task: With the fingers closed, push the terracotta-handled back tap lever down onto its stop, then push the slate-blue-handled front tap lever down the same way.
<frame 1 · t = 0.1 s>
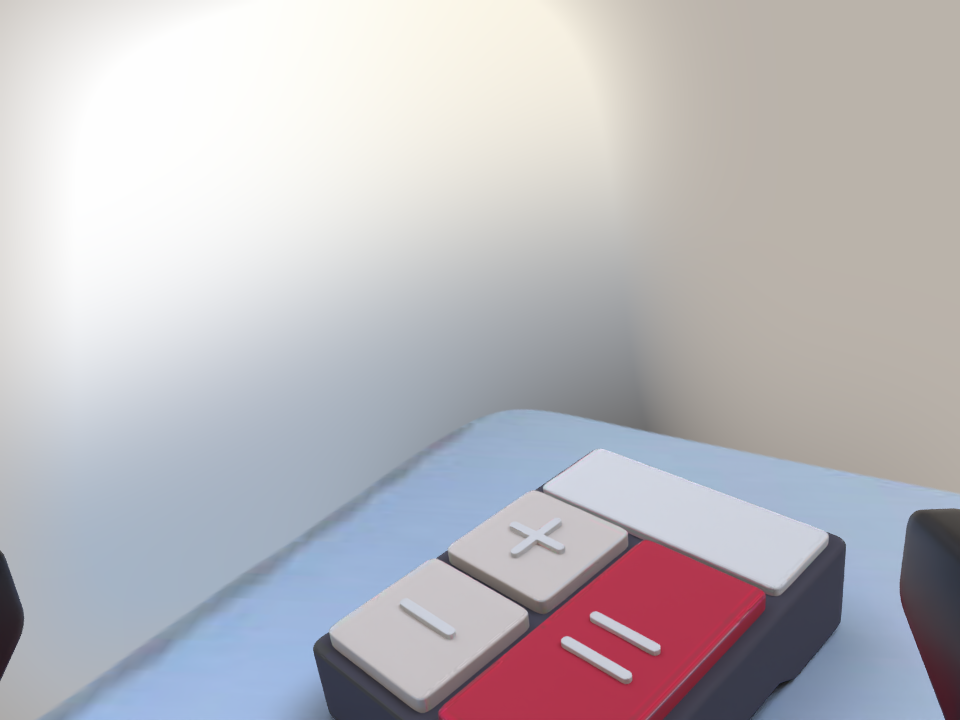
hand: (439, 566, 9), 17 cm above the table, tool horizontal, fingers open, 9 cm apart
calculator: (591, 672, 30), on the table
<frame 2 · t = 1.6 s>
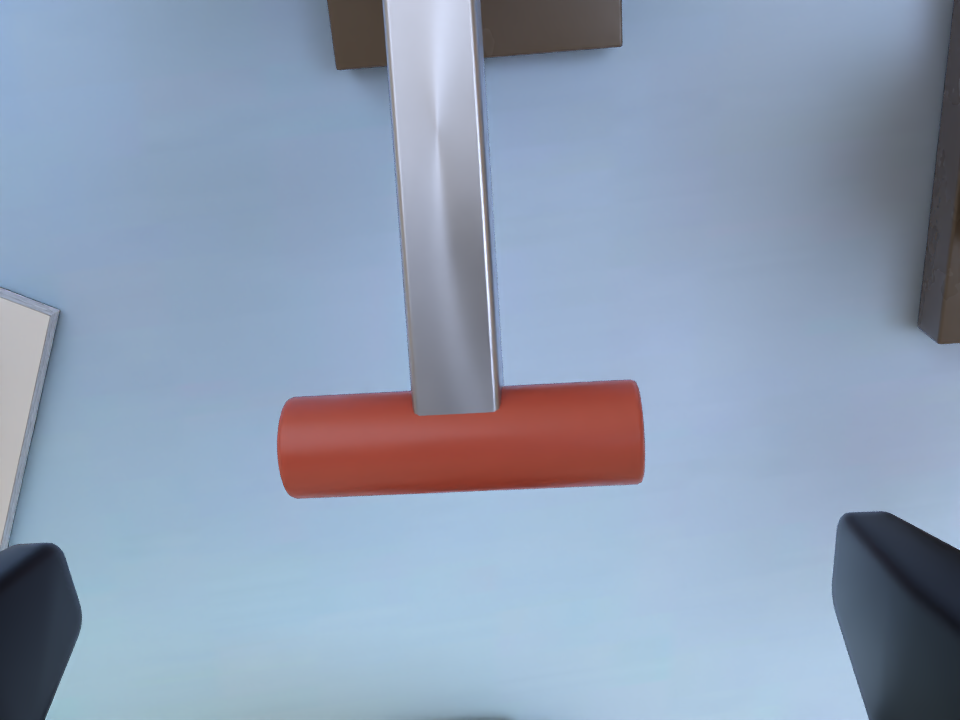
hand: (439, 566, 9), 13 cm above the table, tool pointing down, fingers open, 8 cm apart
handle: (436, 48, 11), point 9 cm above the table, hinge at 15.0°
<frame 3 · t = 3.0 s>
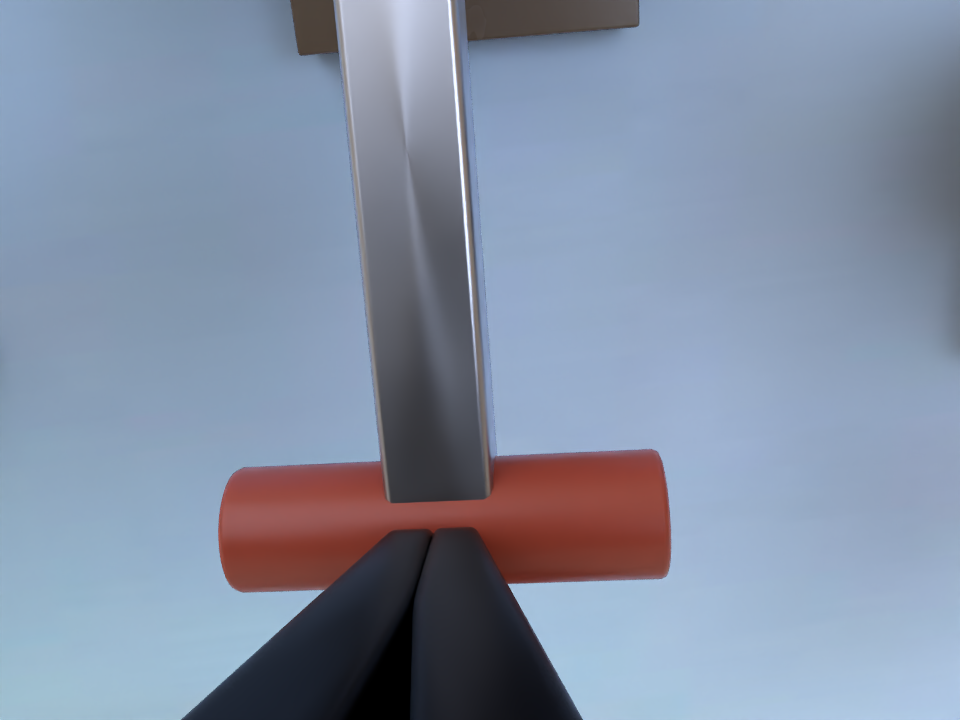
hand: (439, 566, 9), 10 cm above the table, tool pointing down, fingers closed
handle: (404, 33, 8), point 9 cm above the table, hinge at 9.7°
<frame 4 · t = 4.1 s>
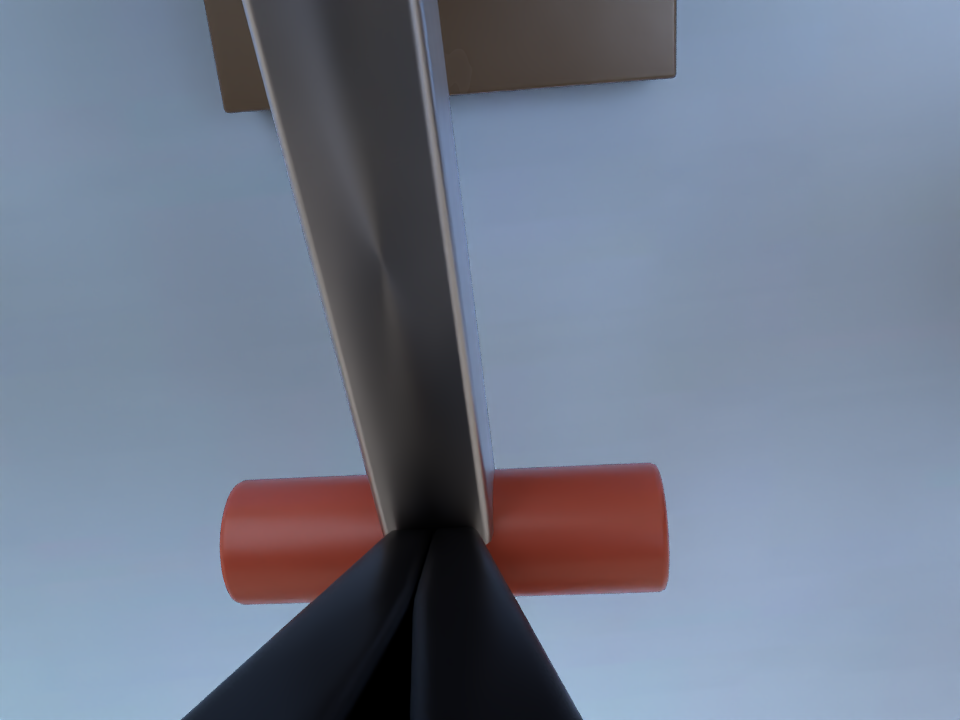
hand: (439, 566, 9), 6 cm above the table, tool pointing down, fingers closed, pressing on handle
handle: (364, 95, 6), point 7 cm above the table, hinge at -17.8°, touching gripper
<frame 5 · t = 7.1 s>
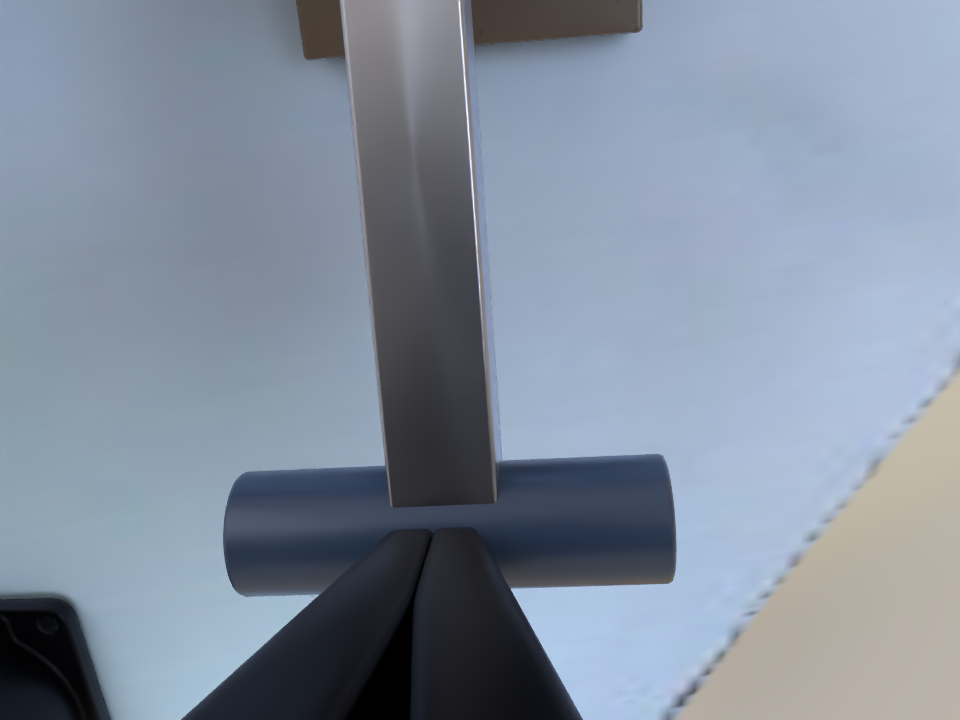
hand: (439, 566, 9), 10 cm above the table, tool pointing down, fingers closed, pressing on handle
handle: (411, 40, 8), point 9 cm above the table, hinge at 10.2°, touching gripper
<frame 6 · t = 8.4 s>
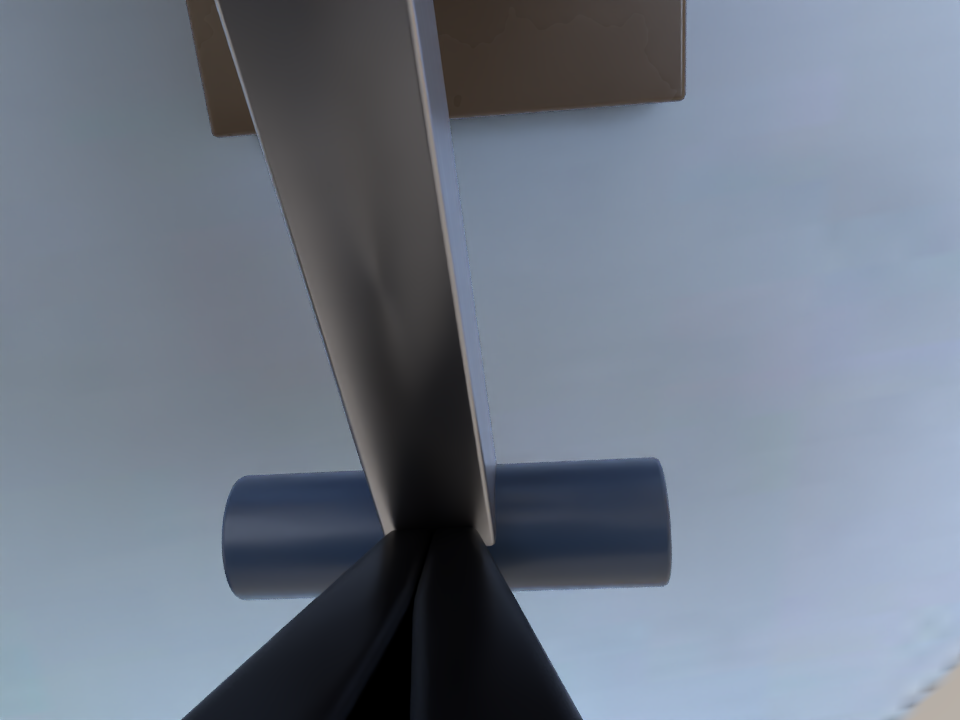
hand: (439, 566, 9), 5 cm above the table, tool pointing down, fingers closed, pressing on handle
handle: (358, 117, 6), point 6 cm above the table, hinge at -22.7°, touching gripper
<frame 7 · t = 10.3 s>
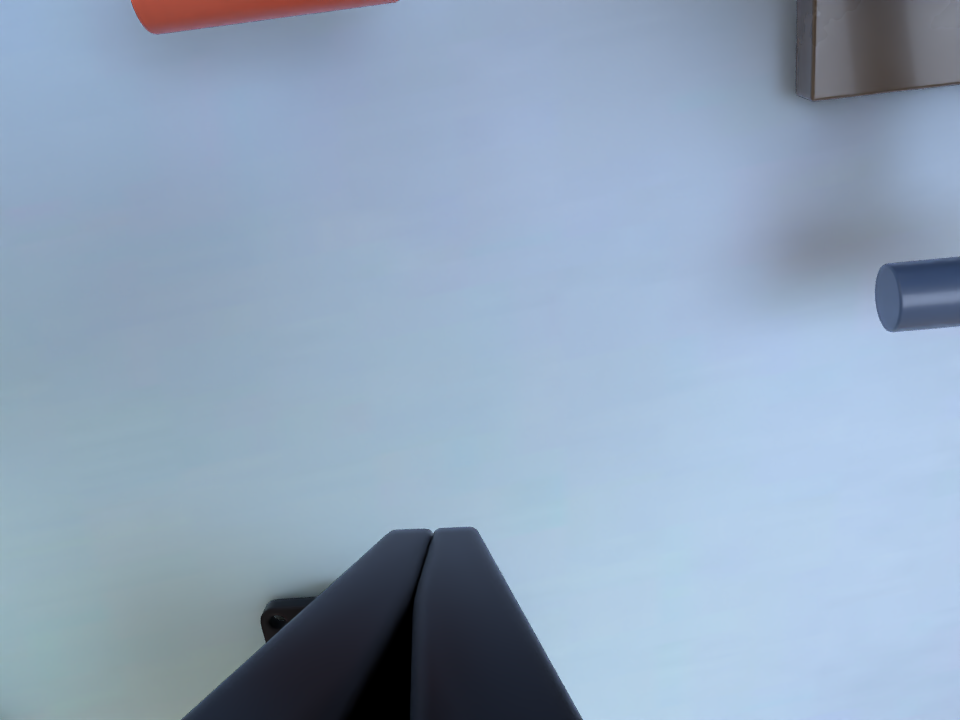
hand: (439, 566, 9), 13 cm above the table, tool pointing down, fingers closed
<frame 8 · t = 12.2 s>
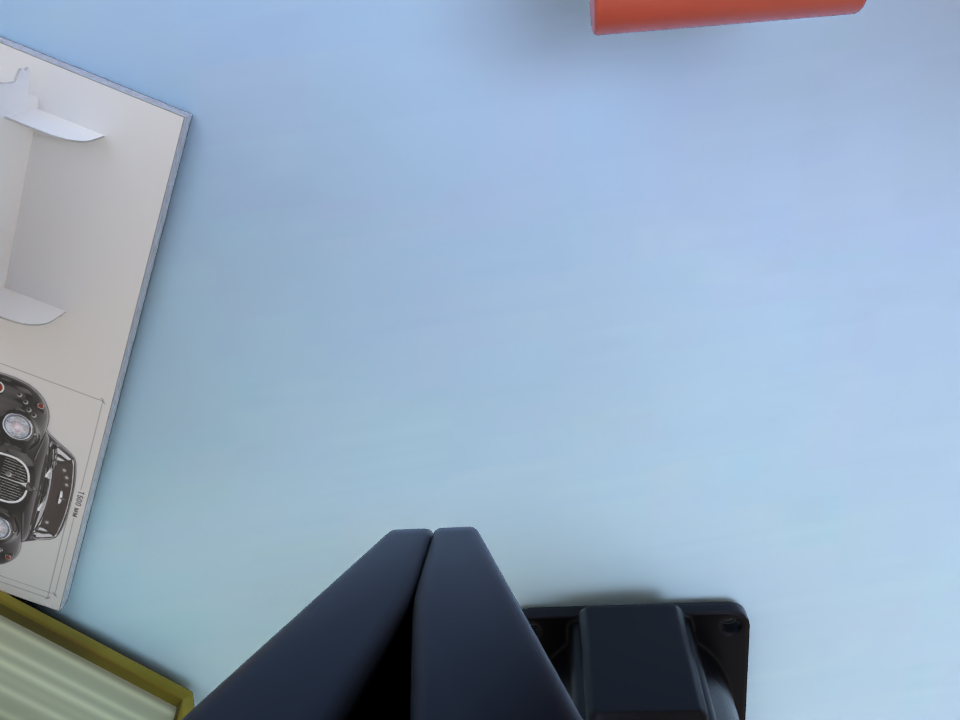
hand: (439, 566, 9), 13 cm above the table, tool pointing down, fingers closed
car cutout: (1, 339, 23), on the table, touching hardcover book
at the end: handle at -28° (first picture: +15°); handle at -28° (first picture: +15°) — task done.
